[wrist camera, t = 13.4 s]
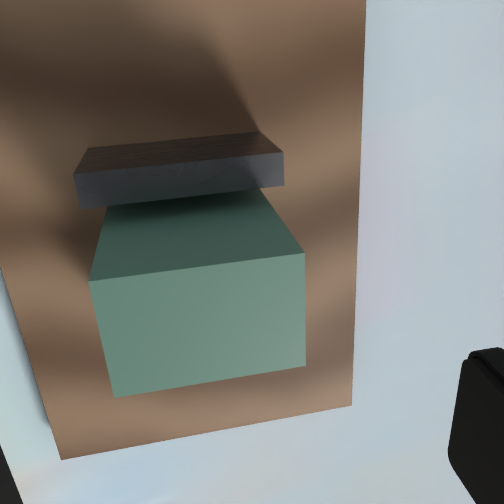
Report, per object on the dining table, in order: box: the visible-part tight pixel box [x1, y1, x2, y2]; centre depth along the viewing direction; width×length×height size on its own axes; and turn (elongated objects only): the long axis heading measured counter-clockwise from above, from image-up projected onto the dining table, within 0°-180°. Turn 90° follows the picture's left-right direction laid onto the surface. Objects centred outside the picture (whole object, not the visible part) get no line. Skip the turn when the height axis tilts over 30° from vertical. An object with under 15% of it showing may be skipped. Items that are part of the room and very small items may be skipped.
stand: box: [0, 0, 366, 460], centre depth 20 cm, size 24×16×6 cm, turn 3°
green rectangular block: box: [88, 189, 306, 398], centre depth 18 cm, size 4×6×8 cm, turn 93°
